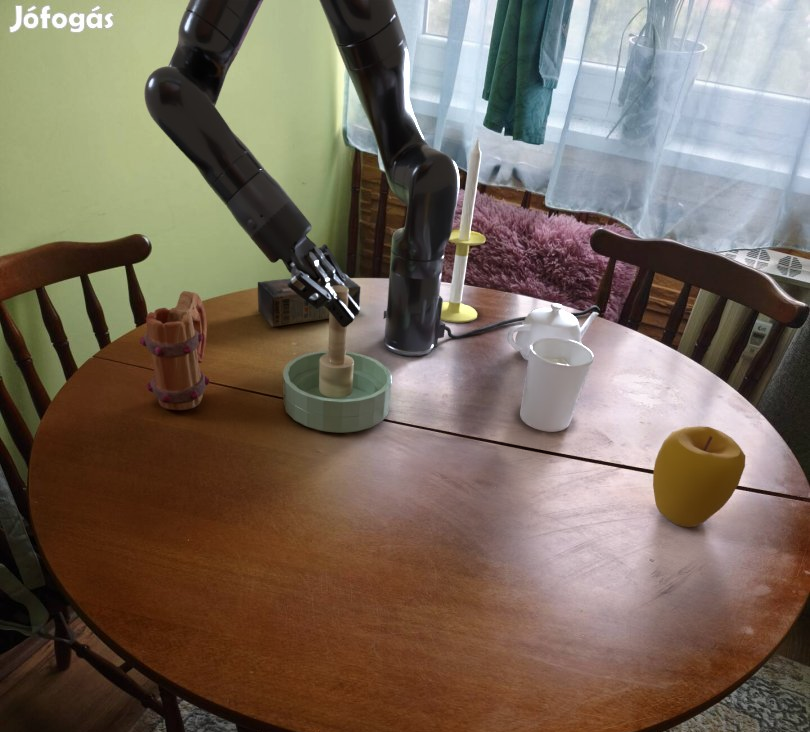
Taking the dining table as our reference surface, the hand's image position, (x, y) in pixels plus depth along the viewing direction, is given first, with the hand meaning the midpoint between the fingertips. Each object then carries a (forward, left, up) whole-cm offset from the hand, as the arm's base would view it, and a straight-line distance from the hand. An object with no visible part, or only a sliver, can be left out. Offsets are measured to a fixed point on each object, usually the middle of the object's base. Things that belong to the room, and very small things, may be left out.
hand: (352, 318), depth 100 cm
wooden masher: (+2, -2, -12) cm, 12 cm away
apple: (-27, +45, -15) cm, 54 cm away
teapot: (-45, 0, -15) cm, 47 cm away
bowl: (+1, -1, -15) cm, 15 cm away
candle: (-41, -24, -15) cm, 50 cm away
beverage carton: (-13, -35, -16) cm, 41 cm away
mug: (+20, -15, -16) cm, 30 cm away
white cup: (-28, +17, -15) cm, 36 cm away
